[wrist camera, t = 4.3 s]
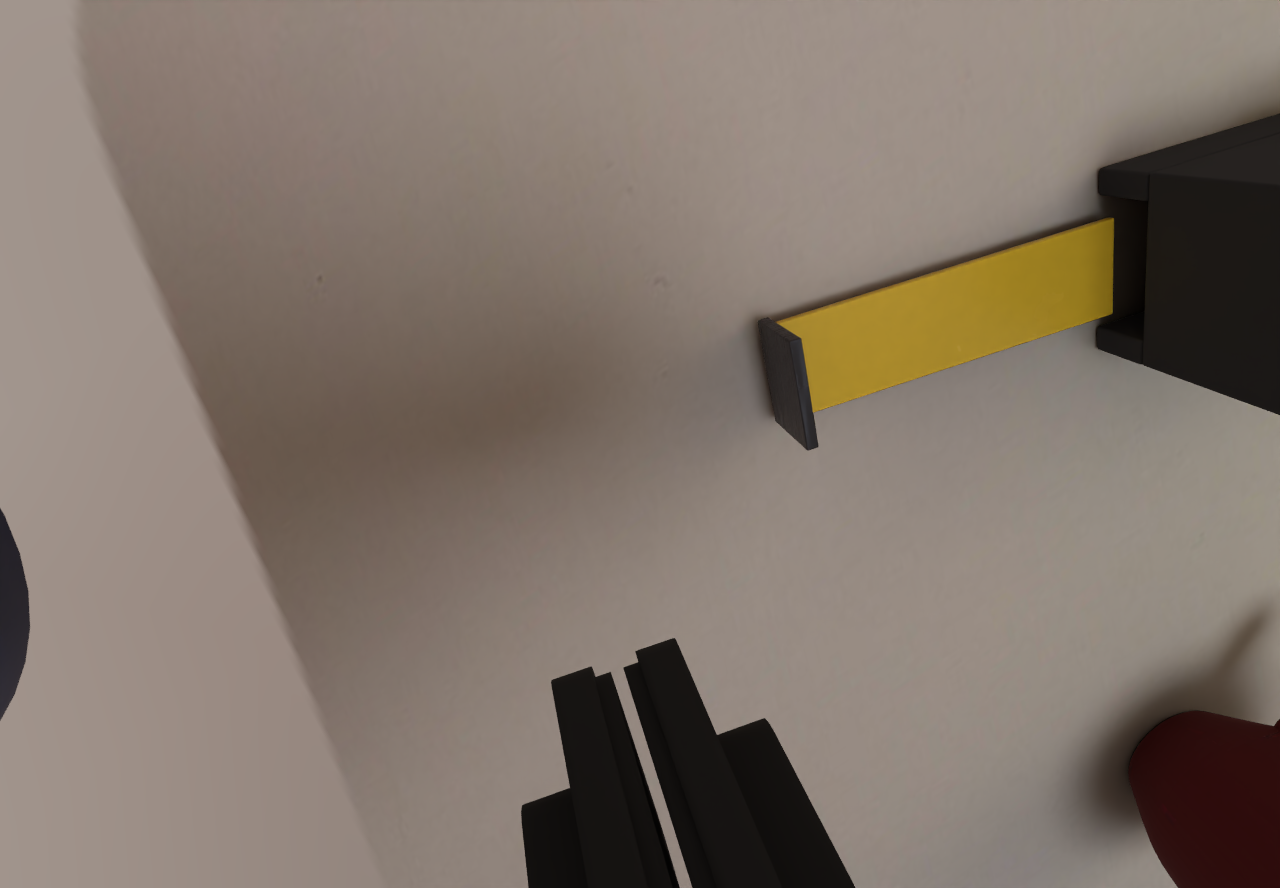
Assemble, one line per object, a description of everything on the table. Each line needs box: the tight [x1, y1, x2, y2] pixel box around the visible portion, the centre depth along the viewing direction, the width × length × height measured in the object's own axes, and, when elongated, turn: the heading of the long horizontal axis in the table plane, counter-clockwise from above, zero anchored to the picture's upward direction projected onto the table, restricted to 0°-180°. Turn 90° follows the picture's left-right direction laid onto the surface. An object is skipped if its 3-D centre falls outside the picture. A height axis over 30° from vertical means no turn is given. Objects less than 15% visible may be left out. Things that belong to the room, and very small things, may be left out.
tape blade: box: [758, 217, 1114, 450], centre depth 20 cm, size 10×3×2 cm, turn 104°
